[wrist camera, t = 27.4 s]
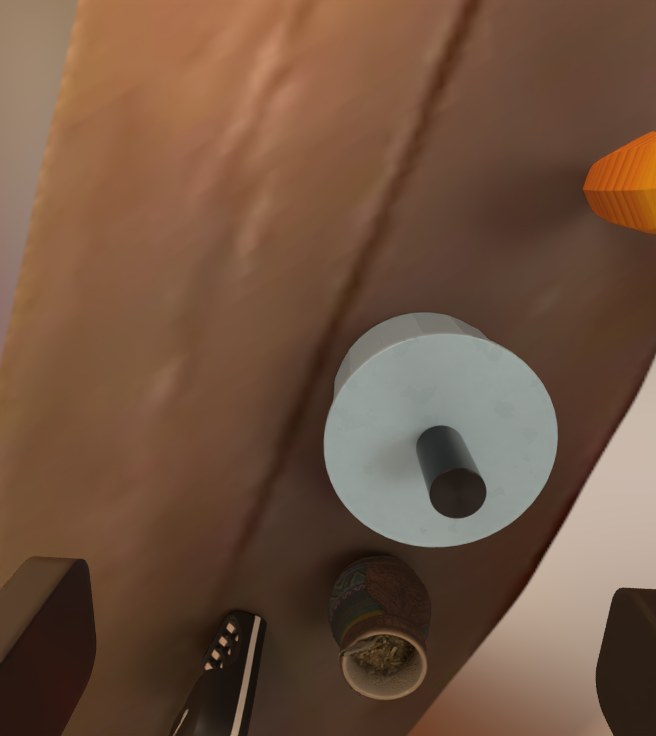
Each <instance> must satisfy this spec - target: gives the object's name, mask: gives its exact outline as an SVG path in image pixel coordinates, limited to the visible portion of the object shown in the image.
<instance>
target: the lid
mask: <svg viewBox="0 0 656 736" xmlns="http://www.w3.org/2000/svg"><path fill="white" fill-rule="evenodd" d="M557 441H558V433H557V421H556V416H555V410H554V408H553V405H552V402H551V399H550V396H549V395H548V393H547V391H546V389H545V387H544V385H543V383H542V382H541V381H540V379H539V378H538V377H537V375H536V374H535V373H534V372H533V370H532V369H531V368H530V367H529V366H528V365H527V364H526V363H525V362H524V361H523V360H521V359H520V358H519V357H517V356H516V355H515V354H513V353H512V352H511V351H509V350H508V349H506V348H504V347H502V346H500V345H499V344H497V343H494V342H492V341H489V340H487V339H484V338H482V337H478V336H473V335H469V334H464V333H455V332H434V333H427V334H420V335H416V336H412V337H408V338H405V339H402V340H399V341H397V342H395V343H392V344H390V345H388V346H386V347H384V348H382V349H381V350H379V351H377V352H375V353H374V354H373V355H371V356H370V357H369V358H367V359H366V360H365V361H363V362H362V363H361V364H360V365H359V366H358V367H357V368H356V369H355V370H354V371H353V372H352V373H351V374H350V375H349V377H348V378H347V379H346V380H345V382H344V383H343V384H342V386H341V388H340V389H339V391H338V393H337V394H336V396H335V398H334V400H333V403H332V405H331V407H330V410H329V413H328V417H327V421H326V424H325V433H324V457H325V463H326V469H327V472H328V475H329V478H330V481H331V483H332V485H333V487H334V489H335V491H336V493H337V495H338V496H339V498H340V499H341V501H342V502H343V504H344V505H345V506H346V507H347V509H348V510H349V511H350V512H351V513H352V514H353V515H354V516H355V517H356V518H357V519H358V520H360V521H361V522H362V523H363V524H364V525H366V526H367V527H369V528H370V529H372V530H373V531H375V532H377V533H379V534H381V535H383V536H385V537H387V538H390V539H392V540H395V541H398V542H401V543H405V544H410V545H414V546H423V547H448V546H456V545H461V544H466V543H470V542H473V541H476V540H479V539H482V538H485V537H487V536H489V535H491V534H493V533H495V532H497V531H499V530H501V529H502V528H504V527H505V526H507V525H508V524H510V523H511V522H513V521H514V520H515V519H516V518H518V517H519V516H520V515H521V514H522V513H523V512H524V511H525V510H526V509H527V508H528V507H529V506H530V505H531V504H532V503H533V501H534V500H535V499H536V497H537V496H538V495H539V493H540V492H541V490H542V489H543V487H544V485H545V483H546V481H547V480H548V477H549V475H550V472H551V470H552V467H553V464H554V460H555V456H556V450H557Z"/></svg>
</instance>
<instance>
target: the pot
mask: <svg viewBox="0 0 656 736" xmlns="http://www.w3.org/2000/svg"><path fill="white" fill-rule="evenodd" d="M434 332H455V333H464V334H469V335H473V336H478V337H482V338H484V339H487V340H489V339H488V338H487V337H486V336H485V335H484V334H483V333H482V332H481V331H480V330H478V329H476V328H474V327H472V326H470V325H468V324H467V323H465V322H463V321H461V320H458V319H456V318H453V317H451V316H449V315H445V314H437V313H429V312H425V313H409V314H404V315H400V316H397V317H393V318H391V319H388V320H386V321H384V322H382V323H380V324H377V325H376V326H375V327H373V328H371V329H370V330H369V331H367V332H366V333H365V334H364V335H362V336H361V337H360V338H359V339H358V340H357V341H356V342H355V343H354V345H353V346H352V347H351V348H350V349H349V351H348V353H347V354H346V356H345V358H344V359H343V361H342V363H341V366H340V368H339V370H338V373H337V375H336V377H335V383H334V398H335V396H336V394H337V393H338V391H339V389H340V388H341V386H342V384H343V383H344V382H345V380H346V379H347V378H348V377H349V375H350V374H351V373H352V372H353V371H354V370H355V369H356V368H357V367H358V366H359V365H360V364H361V363H362V362H363V361H365V360H366V359H367V358H369V357H370V356H371V355H373V354H374V353H375V352H377V351H379V350H381V349H382V348H384V347H386V346H388V345H390V344H392V343H395V342H397V341H399V340H402V339H405V338H408V337H412V336H416V335H420V334H427V333H434ZM489 341H490V340H489Z"/></svg>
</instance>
